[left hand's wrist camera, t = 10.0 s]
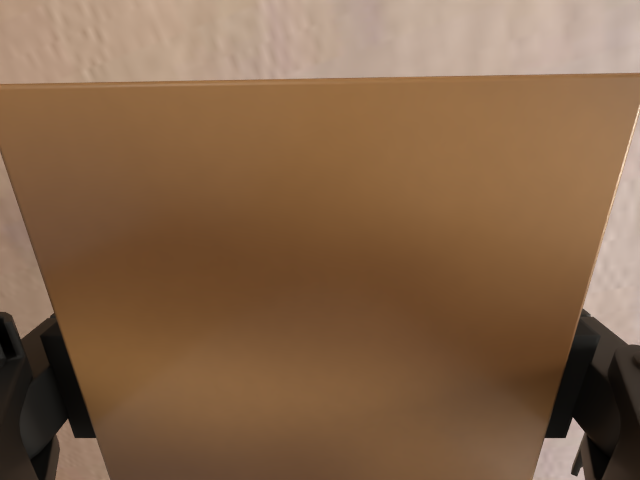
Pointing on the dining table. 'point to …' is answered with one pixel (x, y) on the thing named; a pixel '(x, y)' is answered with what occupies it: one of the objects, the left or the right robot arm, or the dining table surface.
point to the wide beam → (319, 264)
